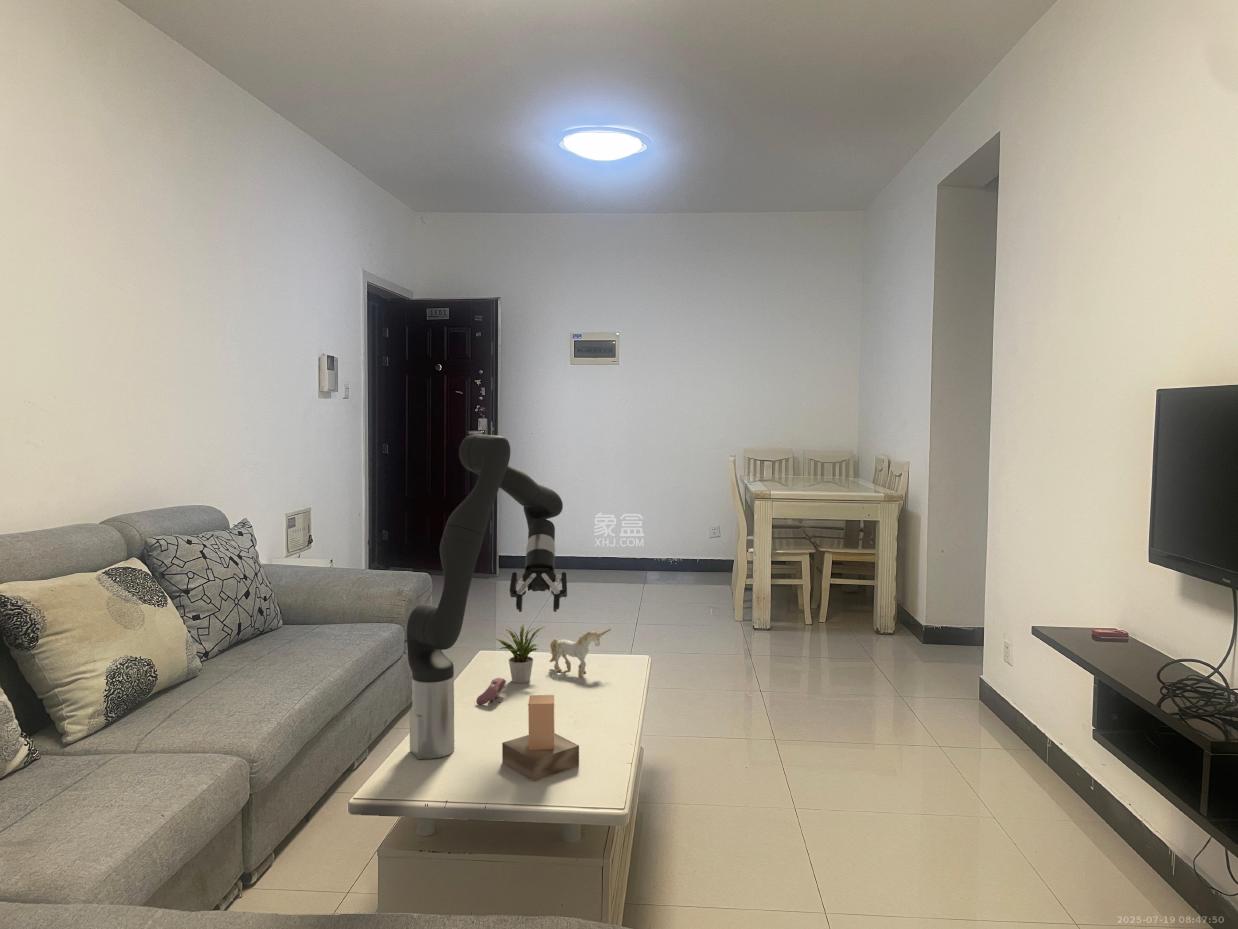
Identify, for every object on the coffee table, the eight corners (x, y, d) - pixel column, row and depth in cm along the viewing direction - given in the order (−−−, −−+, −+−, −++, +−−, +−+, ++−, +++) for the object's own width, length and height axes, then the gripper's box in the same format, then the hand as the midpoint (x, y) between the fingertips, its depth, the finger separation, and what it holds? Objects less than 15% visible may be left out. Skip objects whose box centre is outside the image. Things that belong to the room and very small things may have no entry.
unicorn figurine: (604, 679, 232) (605, 634, 231) (542, 674, 237) (542, 629, 236) (611, 672, 239) (611, 628, 238) (550, 667, 244) (550, 624, 243)
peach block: (528, 749, 170) (528, 704, 170) (530, 739, 175) (529, 695, 175) (554, 749, 170) (553, 703, 170) (554, 739, 176) (554, 694, 175)
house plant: (532, 668, 242) (532, 615, 241) (557, 680, 231) (557, 624, 230) (490, 677, 233) (490, 622, 233) (514, 690, 222) (514, 632, 222)
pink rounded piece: (488, 712, 210) (500, 689, 209) (473, 703, 210) (485, 681, 209) (500, 699, 219) (511, 678, 218) (486, 691, 220) (497, 669, 219)
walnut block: (533, 783, 165) (533, 760, 165) (502, 765, 174) (502, 742, 174) (579, 768, 173) (579, 745, 173) (547, 750, 182) (547, 729, 182)
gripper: (511, 547, 202) (507, 602, 192) (567, 547, 203) (566, 601, 192) (513, 564, 208) (509, 618, 197) (568, 564, 209) (567, 618, 198)
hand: (537, 610), depth 195 cm, fingers open, 8 cm apart
